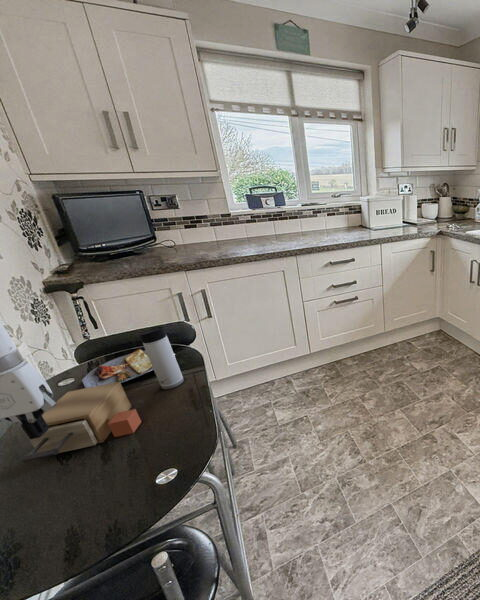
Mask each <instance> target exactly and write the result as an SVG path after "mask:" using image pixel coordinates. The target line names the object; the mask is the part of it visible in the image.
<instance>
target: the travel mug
mask: <svg viewBox="0 0 480 600" xmlns="http://www.w3.org/2000/svg"><path fill="white" fill-rule="evenodd" d="M139 337H140V340H141V343H142V345H143V347H144V350H146V352H147V355H148V357H149V359H150V362H151V364H152V367H153V371H154V374H155V376H156V378H157V381H158V383H159V386H160V388H161V389H162V390H171V389H174V388H176V387H178V386H180V385H181V384H183V382H184V380H185V379H184V375H183V374H182V371H181V368H180V365H179V363H178V361H177V359H176V355H175V353H174V351H173V347H172V345H171V341H169V340H170V339H169V337H168V335H167V333H166V330H165V328H164V326H156V327H153V328H150V329H148V330H144V331H141V332H139Z"/></svg>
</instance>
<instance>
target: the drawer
mask: <svg viewBox="0 0 480 600" xmlns="http://www.w3.org/2000/svg"><path fill="white" fill-rule="evenodd" d="M48 427H49V429H48V430H47V431H46V432H45V433H44V434H43V435H42V436H41V437H40V438H35V439H29V437H28V436H27V435H26V437H27V439H28V440H29V442H30V443H31V445H32V446H33V449H32V450H31V451H30V452H29V453H28V454H24V455H22V456H21V459H20V460H21V462H22V463H26V462H31V461H36V460H40V459H43V458H49V457H53V456H57V455H58V454H61V453H62V454H63V453H65V452H66V453H67V452H70V451H76V450H80V449H84V448H88V447H93V446H96V445H97V444H96V443H97V442H98V441H97V440H96V438H97V437H96V435H95V433H94V432H93V430H92V428H91V426H90V424H89V422H88V421H87V419H86V418H84V419H79V420H74V421H69V422H65V423H60V424H55V425H50V426H48Z"/></svg>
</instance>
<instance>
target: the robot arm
mask: <svg viewBox="0 0 480 600" xmlns="http://www.w3.org/2000/svg"><path fill="white" fill-rule="evenodd" d="M14 342H15V341H14V340H13V339H12V337H11V336H10V334H9V332H8V331H7V329H6V327H5V326H4V324H3V323H2V321H1V320H0V421H8V422H12V423H13V424H14V425H15V426H17V427H21V428H22V430H23V431H24V433H25V435H26V437H27V436H28V437H29V438H28V437H27V438H28V440H29V439H35V438H40V437H41V436H42V435H43V434H44V433H45V432H46V431H47V430H48V429H49V427H48V425H47V423H46V422H45V420H44V419H43V417H42V415H43V414H44V412H45V411H47V410H49V409H52V408H53V407H54V406H55V405H56V401H55V400H54V399H53V398H54V393H53V391H52V389H51V387H50V385H49V384H48V382H47V381H46V379H45V378H44V377H43V376H42V374H41V373H40V372H39V371H38V369H36V368H35V367H34V365H32V364H31V363H30V361H25V359H24V357H23V356H22V354H21V352H20V351H19V348H18V347H17V345H16V344H15V343H14Z"/></svg>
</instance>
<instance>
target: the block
mask: <svg viewBox="0 0 480 600" xmlns="http://www.w3.org/2000/svg"><path fill="white" fill-rule="evenodd" d="M141 423H142V420H141V418H140V415H139V414H138V411H137V409H136V408H133V409H129V410H128V411H123V412H119V413H116V415H115V416H114V417H113V418H112V419H111V421H110V422H109V423H108V425H109V427H110V429H111V431H112V432H111V433H112V436H113V437H114V438H117V437H122V436H127V435H131V434H134V433H135V432H136V430H137V429H139V428H138V427H139V426H140V425H141Z"/></svg>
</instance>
